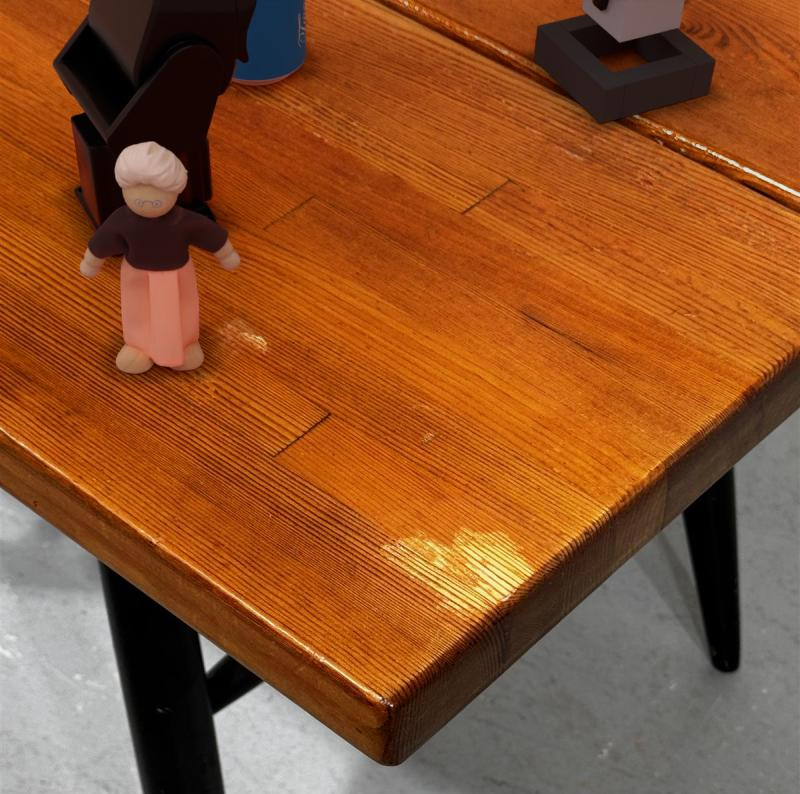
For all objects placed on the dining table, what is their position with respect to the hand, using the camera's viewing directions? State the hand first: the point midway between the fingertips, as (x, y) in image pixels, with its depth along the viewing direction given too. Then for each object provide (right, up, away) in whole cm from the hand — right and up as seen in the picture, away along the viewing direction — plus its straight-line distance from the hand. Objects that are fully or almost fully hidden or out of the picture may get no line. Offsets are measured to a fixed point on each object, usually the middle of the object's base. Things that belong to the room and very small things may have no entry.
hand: (631, 0), depth 91 cm
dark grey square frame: (0, -4, +4) cm, 6 cm away
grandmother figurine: (-26, -24, -15) cm, 39 cm away
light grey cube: (0, -1, +1) cm, 1 cm away
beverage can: (-24, -3, +4) cm, 24 cm away
